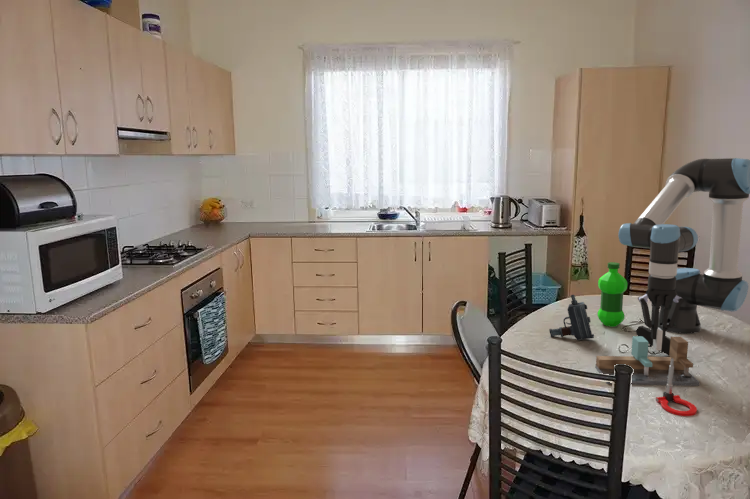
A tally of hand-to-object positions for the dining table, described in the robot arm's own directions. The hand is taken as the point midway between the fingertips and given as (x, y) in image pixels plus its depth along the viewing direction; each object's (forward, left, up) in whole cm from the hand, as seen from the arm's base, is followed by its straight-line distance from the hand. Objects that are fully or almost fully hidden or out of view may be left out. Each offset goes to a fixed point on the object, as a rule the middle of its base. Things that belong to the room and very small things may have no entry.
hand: (657, 348), depth 164 cm
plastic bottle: (0, -45, -8) cm, 46 cm away
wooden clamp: (+5, +2, -6) cm, 8 cm away
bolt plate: (+5, +4, -8) cm, 10 cm away
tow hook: (+4, +24, -8) cm, 25 cm away
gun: (+19, -29, -8) cm, 35 cm away
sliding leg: (+5, +2, -6) cm, 8 cm away
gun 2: (-6, -14, -8) cm, 17 cm away
